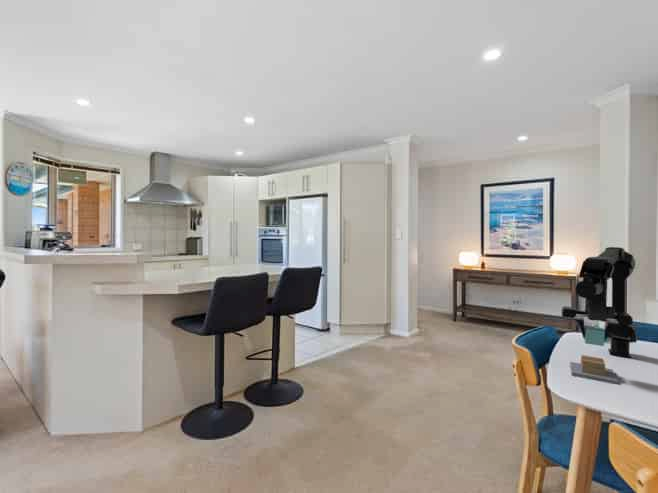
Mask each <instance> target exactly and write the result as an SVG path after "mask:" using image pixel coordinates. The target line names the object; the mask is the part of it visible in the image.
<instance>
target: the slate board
mask: <svg viewBox="0 0 658 493" xmlns="http://www.w3.org/2000/svg"><path fill="white" fill-rule="evenodd" d="M569 364H570V365H569V366H570V370H571V372H570V373H571V376H575V377H580V378H584V379H590V380H594V381H599V382H606V383H610V384H616V385H618V379H617V377H616V375H615V372H614V370H613V369H612V368H608V367H605V376H602V375H596V374H591V373H586V372H582V369H581V362H575V361H574V362H573V361H570V362H569Z"/></svg>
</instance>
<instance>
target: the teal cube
mask: <svg viewBox="0 0 658 493" xmlns="http://www.w3.org/2000/svg"><path fill="white" fill-rule="evenodd" d="M584 328H585V339H584V338H583V339H584V344H588V345H594V346H601V347H605V342H604V337H605V331H604V328H603V327H600V326H599V327H598V326H597V327H595V326H594V327H592V325H584Z"/></svg>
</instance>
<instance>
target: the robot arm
mask: <svg viewBox="0 0 658 493" xmlns="http://www.w3.org/2000/svg"><path fill="white" fill-rule="evenodd" d="M635 268H636V260H635V258H634V255H632V254H630V253H629V252H627V251H626V249H625V248H623V247H620V246H619V247H615V246H608V247H606V248H605V249H604V251H603V252H601V253H600V254H599V255H597V256H589V257H586V258H585V260H583V262H582V264H581V268H580V270H579V274H578V278H580V279H582V280H581V281H578V282H577V284H576V285H575V288H574V289H575V293H576V294H577V295H578V296H579V297H580V298H583V299H584V300H585V302H584V310H577V309H576V307H573V306H562V307H561V317H563V318H569V319H572V320H573V321H576V322H577V324H578V327H580V328H579V329H580V331H581V335H582V338H583V339H585V320H584V317H585V318H586V317H587V319H588V320H590V321H599V322H604V328H603V329H604V331H605V337H604V343H605V342H606V341H607V340H606V338H607V337H608V339H610V348H607V351H608V353H609V354H610V355H611V356H617V357H623V358H630V359H631V358H632V357H633V356H632V355H631V353H630V346H631V345H630V344H632V343H637V340H638V338H637V337H638V336H637V332H636V330H635V327H634V326H633V322H634V319H633V317H632V316H631V315H630V313H628V278H630V276H631V275H632V274H633V273H634V270H635ZM609 279H611V306H607V300H608V299H607V298H608V281H609ZM632 359H633V358H632Z"/></svg>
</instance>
